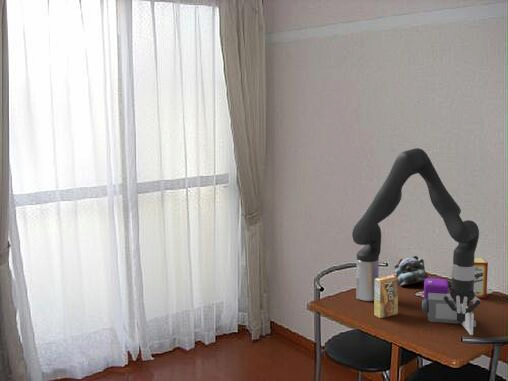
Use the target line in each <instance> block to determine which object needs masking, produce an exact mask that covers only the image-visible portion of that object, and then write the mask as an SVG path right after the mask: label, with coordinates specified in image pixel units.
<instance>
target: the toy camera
mask: <svg viewBox="0 0 508 381" xmlns="http://www.w3.org/2000/svg"><path fill="white" fill-rule="evenodd" d="M423 284H424V285H423V299H428V293H440V294H449V293H450V290H451V289H450V288H449V282H448V280H447V279H444V278H431V277H430V278H429V277H428V278H427V279H425V281H424V283H423Z"/></svg>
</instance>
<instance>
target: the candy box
mask: <svg viewBox="0 0 508 381" xmlns="http://www.w3.org/2000/svg"><path fill="white" fill-rule="evenodd" d="M398 303H399V285H398V278H397V276H395V275H393V274H392V275H390V274H389V275H386V276H381V277H379V278H376V279H375V291H374V304H373V306H374V307H373V308H374V309H373V310H374V313H373V315H374V316H376V317H377V318H379V319H383V318H387V317H391V316H395V315H398V314H399V312H398V311H399V308H398V306H399V304H398Z"/></svg>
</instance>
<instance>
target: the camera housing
mask: <svg viewBox="0 0 508 381" xmlns="http://www.w3.org/2000/svg"><path fill="white" fill-rule="evenodd" d="M444 295H447V294H440V293H428V299H424V298H422V301H421V310H422V313H427V318H428V319H427V320H428V322H432V323H446V324H460V325H462V324H461V323H459V321H457V312H456V311H453V310H452V309H451V308H450V307H449V305H448V304H447V303H446V301H445V300H444ZM451 301H452V302H453V303H454V305H455V306H456V307H457V303H456V302H455V301H454V300H453V298H452V297H451Z"/></svg>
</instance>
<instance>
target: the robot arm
mask: <svg viewBox="0 0 508 381" xmlns="http://www.w3.org/2000/svg"><path fill="white" fill-rule="evenodd" d="M417 174H418V175H419V176H420V177H421V178H422V179H423V181H424V182H425V184H426V186H427V189H428V195H429V199H430V202H431V204H432V206H433V208H434V209H435V211H437V213H438V214H439V216H440V217H441V218H442V220H443V223H444V225H445V227H446V230H447V233H448V234H449V235H450V237H451V238H452V239H453V240H454V241H455V242H457V243H458V244H457V246H456V247H455V248H454V250H453V257H452V268H451V285H450V286H451V289H450V293H449V294H447V295H444V300H445V301H446V303H447V304H448V305H449V307H450V308H451V309H452V310H453V311H456V312H457V321H459V323H463V322H465V315H466V313H471V312H472V313H473V311H474V310H475V309H476V308H477V307H478V306H479V305H480V304H481V302H482V301H481V298H477V297H476V296H475V293H474V276H475V274H474V273H475V271H474V258H475V254H476V253H475V252H476V249H477V245H478V243H479V238H480V230H479V226H478V225H477V223H476V222H475V221H474V220H471V219H469V220H468V219H467V220H463V219H462V217H461V213H462V210H461V207H460V206H459V204H457V202H456V201H455V199H454V198H453V196H452V195H451V194H450V193H449V191H448V190H447V188H446V186H445V185H444V183H443V182H442V180H441V178H440V176H439V173H438V171H437V170H436V168H435V167H434V164H433V162H432V160H431V159H430V157H429V156H428V154H427V153H426V152H425V150H424V149H422V148H418V147H417V148H412V149H407V150H404V151H402V152H400V153H399V154H398V155H397V156H396V158H395V160H394V162H393V164H392V166H391V169H390V171H389V173H388V175H387V177H386V179H385V180H384V181H383V183H382V185H381V187H380V188H379V190H377V193H376V194H375V196H374V198H373V200H372V202H371V203H370V205H369V206H368V207H367V209H366V211H365V213H364V214H363V215H362V217H361V218H360V219H359V220H358V221H357V222H356V224H355V225H354V226H353V229H352V231H351V232H352V234H351V235H352V240H353V242H354V243H355V244H357V245H360V246H363V247H362V248H361V249H360V250H358V251H357V253H356V279H355V281H356V282H355V286H356V287H355V288H356V290H355V291H356V292H355V294H356V297H355V298H356V299H355V300H361V301H366V302H373V301H374V291H375V279H376V278H380V277H379V275H380V274H379V272H380V271H379V268H380V267H379V266H380V265H379V262H380V260H379V259H380V258H379V256H380V254H381V247H382V244H381V243H382V230H381V227H380V225H379V223H381V222H382V221H384V220H385V219H387V218H388V217H390V215H392V214H393V212H394V211H395V210H396V208H398V205H399V204H400V202H401V201H402V198H403V197H402V196H403V195H402V194H403V193H402V191H403V190H402V189H403V186H404V185H405V183H406V182H407V181H408V179H410V177H412V176H413V175H417ZM451 297H452V298H453V300H454V301H455V302H456V303H457V307H456V306H455V305H454V303H453V302H452V301H451ZM471 302H472V303H471ZM470 303H471V304H470ZM461 304H463V308H462V312H461ZM468 304H470V306H468ZM466 306H467V307H468V308H466Z"/></svg>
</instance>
